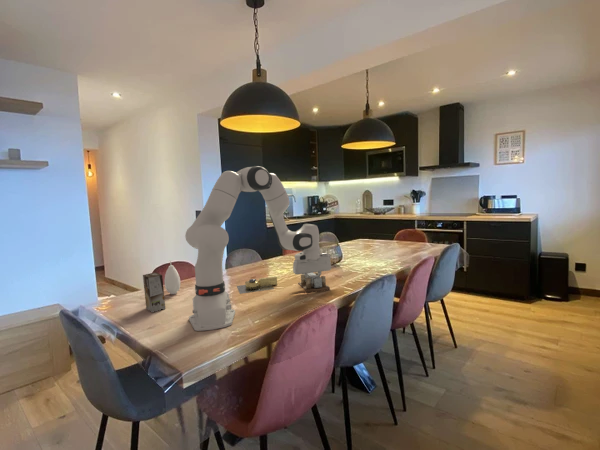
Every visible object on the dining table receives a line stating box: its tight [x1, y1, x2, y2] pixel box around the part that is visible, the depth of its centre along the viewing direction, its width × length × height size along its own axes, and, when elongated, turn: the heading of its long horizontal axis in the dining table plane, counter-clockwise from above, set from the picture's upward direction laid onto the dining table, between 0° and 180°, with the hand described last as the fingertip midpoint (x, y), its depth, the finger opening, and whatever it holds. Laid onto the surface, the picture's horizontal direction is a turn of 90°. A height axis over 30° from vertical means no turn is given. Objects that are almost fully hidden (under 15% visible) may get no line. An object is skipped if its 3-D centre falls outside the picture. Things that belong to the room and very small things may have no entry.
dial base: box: [236, 284, 275, 295], centre depth 173 cm, size 16×18×1 cm
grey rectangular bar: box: [305, 272, 322, 288], centre depth 172 cm, size 21×6×5 cm, turn 17°
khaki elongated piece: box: [244, 276, 278, 289], centre depth 174 cm, size 17×8×4 cm, turn 107°
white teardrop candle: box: [164, 260, 181, 295], centre depth 172 cm, size 8×8×18 cm
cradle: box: [297, 272, 331, 294], centre depth 170 cm, size 16×12×6 cm
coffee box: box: [142, 272, 166, 313], centre depth 149 cm, size 9×6×16 cm
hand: (313, 280), depth 169 cm, fingers closed on grey rectangular bar, 4 cm apart
